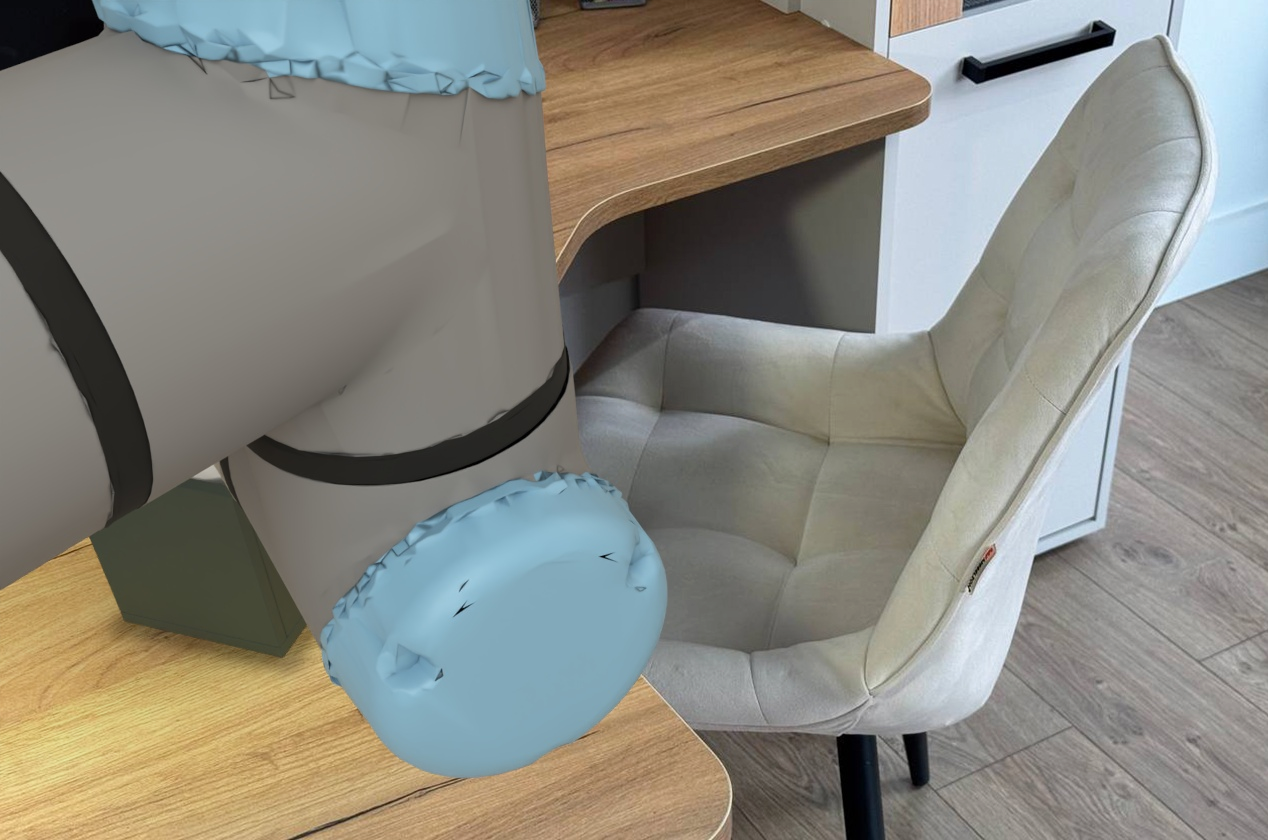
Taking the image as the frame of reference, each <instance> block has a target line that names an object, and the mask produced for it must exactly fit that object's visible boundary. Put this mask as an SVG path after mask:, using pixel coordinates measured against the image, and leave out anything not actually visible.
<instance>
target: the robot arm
mask: <svg viewBox="0 0 1268 840" xmlns="http://www.w3.org/2000/svg"><path fill="white" fill-rule="evenodd" d="M91 1H92V5H93V7H94V9H95V12H96V15H97V17H98V19H99V20H101V21H102V22H103V30H102V31H101V32H100V33H99V34H98V35H97V36H94V37H92V38H89V39H86V40H84V41H81V42H79V43H75V44H73V45H70V46H66V47H64V48H61V49H59V50H56V51H52V52H49V53H47V54H44V55H42V56H38V57H35V58H33V59H30V60H27V61H25V62H21V63H20V64H16V65H13V66H11V67H8V68H4V69H1V70H0V591H2V590H4V589H6V588H8V587H9V586H11V585H12V584H14V583H16V582H17V581H18V580H20V579H22V578H24V577H25V576H26V575H29V574H30V573H32V572H34V571H35V570H36V569H39V568H40V567H42V566H43V565H45V564H47V563H49V562H50V561H51V560H53V559H55V558H56V557H58V556H60V555H61V554H63V553H64V552H66V551H68V550H70V549H71V548H73V547H74V546H76V545H78V544H79V543H81V542H82V541H85V540H86V539H88V538H89V536H91V535H92V534H94V533H96V532H97V531H100V532H101V530H102V529H103V528H108V527H109V526H110V525H111V524H112V523H113V522H115V521H117V520H118V519H120V518H122V517H123V516H125V515H127V514H128V513H130V512H132V511H133V510H135V509H139V508H141V507H142V506H144V505H146V504H147V503H149V502H151V501H153V500H154V499H156V498H158V497H159V496H161V495H163V494H164V493H166V492H168V491H170V490H171V489H173V488H175V487H176V486H178V485H180V484H181V483H183V482H185V481H187V480H188V479H190V478H192V477H193V476H195V475H197V474H198V473H200V472H202V471H204V470H205V469H207V468H209V467H210V466H212V465H214V466H215V468H216V469H217V471H218V473H219V475H220V476H221V478H222V480H223V481H224V483H225V485H226V486H227V488H228V490H229V491H230V493H231V495H232V496H233V498H234V500H235V501H236V502H237V503H238V504H239V506H240V507H241V509H242V510H243V512H244V513H245V515H246V516H247V518H248V519H249V521H250V523H251V524H252V526H253V528H254V530H255V532H256V533H257V535H258V537H259V539H260V541H261V542H262V544H263V546H264V548H265V550H266V551H267V553H268V555H269V557H270V559H271V561H272V562H273V564H274V566H275V568H276V570H277V571H278V573H279V575H280V577H281V579H282V580H283V582H284V584H285V586H286V588H287V589H288V591H289V593H290V595H291V597H292V599H293V600H294V602H295V604H296V606H297V608H298V609H299V611H300V613H301V615H302V617H303V618H304V620H305V622H306V624H307V625H306V627H307V628H308V630H309V631H310V633H311V635H312V637H313V638H314V640H315V642H316V644H317V646H318V647H319V650H320V651H321V660H322V661H321V662H322V665H323V668H324V670H325V672H326V674H327V676H328V678H329V680H330V681H331V683H332V684H333V685H335V686H338V687H340V688H342V690H343V691H344V692H345V694H346V695H347V696H348V698H349V700H350V701H351V702H352V703H353V704H354V706H355V707H356V708H357V710H358V711H359V712H360V714H361V715H362V716H363V718H364V719H365V720H366V722H367V723H368V725H369V726H370V727H371V729H372V730H373V731H374V733H375V735H376V736H377V738H378V739H379V740H380V742H381V743H382V744H383V745H384V746H385V747H386V748H387V749H388V751H390V752H391V753H392V754H393V755H394V756H395V757H396V758H398V759H400V760H401V761H403V762H405V763H406V764H408V765H411V766H412V767H414V768H416V769H419V770H421V771H422V772H425V773H428V774H432V775H437V776H442V777H446V778H455V779H477V778H478V779H479V778H485V777H486V778H487V777H491V776H498V775H502V774H506V773H509V772H514V771H517V770H520V769H522V768H523V769H524V768H526V767H528V766H531V765H533V764H534V763H536V762H537V761H538V760H540V759H541V758H543V757H545V756H546V755H547V754H549V753H551V752H552V751H554V750H556V749H557V748H561V747H562V746H564V745H570V744H573V743H574V742H577V740H579V739H580V738H581V737H583V736H585V735H586V734H587V733H588V732H589V731H591V730H592V729H593V728H595V727H596V726H597V725H598V724H599V723H600V722H602V720H604V719H605V718H606V717H607V716H608V715H609V714H610V713H611V712H612V711H614V709H615V708H616V707H617V706H618V705H619V704H620V703H621V702H622V700H623V699H624V698H625V697H626V696H627V694H629V692H630V691H631V690H632V688H633V687H634V685H635V684H637V682H638V680H639V678H640V677H641V675H642V674H643V672H644V671H645V669H646V668H647V666H648V664H649V662H650V660H651V658H652V656H653V654H654V652H655V650H656V648H657V645H658V643H659V640H660V637H661V634H662V630H663V626H664V623H665V619H666V615H667V606H668V581H667V580H668V579H667V573H666V569H665V565H664V563H663V560H662V558H661V555H660V552H659V551H658V549H657V547H656V545H655V543H654V541H653V540H652V539H651V538H650V536H649V535H648V534H647V533H646V531H645V530H644V528H643V527H642V526H641V524H640V523H639V521H638V520H637V519H636V517H635V516H634V515H633V514H632V512H631V511H630V507H629V504H628V501H626V500H625V499H624V498H623V497H622V496H623V494H624V493H623V492H622V491H621V490H620V489H619V488H617V487H616V486H615V485H614V484H613V483H612V482H610V481H608V480H606V479H604V478H600V477H599V475H598V474H597V473H593V471H592V469H591V467H590V465H589V464H588V462H587V459H586V457H585V454H584V452H583V451H584V450H583V448H582V444H581V439H580V431H579V421H578V411H577V400H576V390H575V381H574V372H573V370H574V369H573V362H572V359H571V356H570V353H569V352H570V351H569V349H568V346H567V344H566V340H565V330H564V329H565V328H564V325H563V321H562V320H563V319H562V310H561V299H560V290H559V289H560V288H559V277H558V267H557V259H556V257H557V256H556V247H555V236H554V226H553V216H552V205H551V204H552V203H551V194H550V182H549V173H548V172H549V171H548V160H547V159H548V158H547V147H546V137H545V121H544V109H543V108H544V107H543V98H542V97H543V95H542V92H544V91H546V89H547V83H546V71H545V67H544V65H543V64H542V62H541V60H540V57H539V53H538V46H537V39H536V32H535V27H534V19H533V15H532V7H531V1H530V0H91Z"/></svg>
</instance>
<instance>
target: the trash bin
mask: <svg viewBox="0 0 1268 840" xmlns="http://www.w3.org/2000/svg"><path fill="white" fill-rule="evenodd" d="M88 538H89V540H90V542H91V545H92V547H93V550H94V552H95V554H96V556H97V559H98V562H99V564H100V567H101V569H102V571H103V574H104V576H105V579H106V581H107V583H108V585H109V588H110V590H111V593H112V595H113V598H114V600H115V602H116V605H117V608H118V609H119V612H120V614H121V617H122V620H123V621H124V622H126V623H130V624H135V625H138V626H143V627H148V628H151V629H152V628H153V629H156V630H161V631H164V632H170V633H173V634H178V635H182V636H186V637H191V638H196V639H200V640H203V641H207V642H208V641H209V642H213V643H217V644H222V645H226V646H230V647H235V648H238V649H243V650H246V651H247V650H248V651H252V652H256V653H260V654H265V655H270V656H273V657H278V658H284V657H285V656H286V654H287V653H288V651H289V650H290V649H291V648H292V646H293V645H294V643H295V642H296V640H297V639H298V637H299V636H300V635H301V633H302V632H303V630H304V629H305V628H306V627H307V624H306V622H305V620H304V618H303V617H302V615H301V613H300V611H299V609H298V608H297V606H296V604H295V602H294V600H293V599H292V597H291V595H290V593H289V591H288V589H287V588H286V586H285V584H284V582H283V580H282V579H281V577H280V575H279V573H278V571H277V570H276V568H275V566H274V564H273V562H272V561H271V559H270V557H269V555H268V553H267V551H266V550H265V548H264V546H263V544H262V542H261V541H260V539H259V537H258V535H257V533H256V532H255V530H254V528H253V526H252V524H251V523H250V521H249V519H248V518H247V516H246V515H245V513H244V512H243V510H242V509H241V507H240V506H239V504H238V503H237V502H236V501H235V500H234V498H233V496H232V495H231V493H230V491H229V490H228V488H227V486H226V485H222V484H217V483H212V482H206V481H201V480H196V479H191V478H190V479H188V480H187V481H185V482H183V483H181V484H180V485H178V486H176V487H175V488H173V489H171V490H170V491H168V492H166V493H164V494H163V495H161V496H159V497H158V498H156V499H154V500H153V501H151V502H149V503H147V504H146V505H144V506H142V507H141V508H139V509H135V510H133V511H132V512H130V513H128V514H127V515H125V516H123V517H122V518H120V519H118V520H117V521H115V522H113V523H112V524H111V525H110V526H109V527H108V528H103V529H102V530H101V532H100V531H97V532H96V533H94V534H92V535H91V536H89V537H88Z"/></svg>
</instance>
